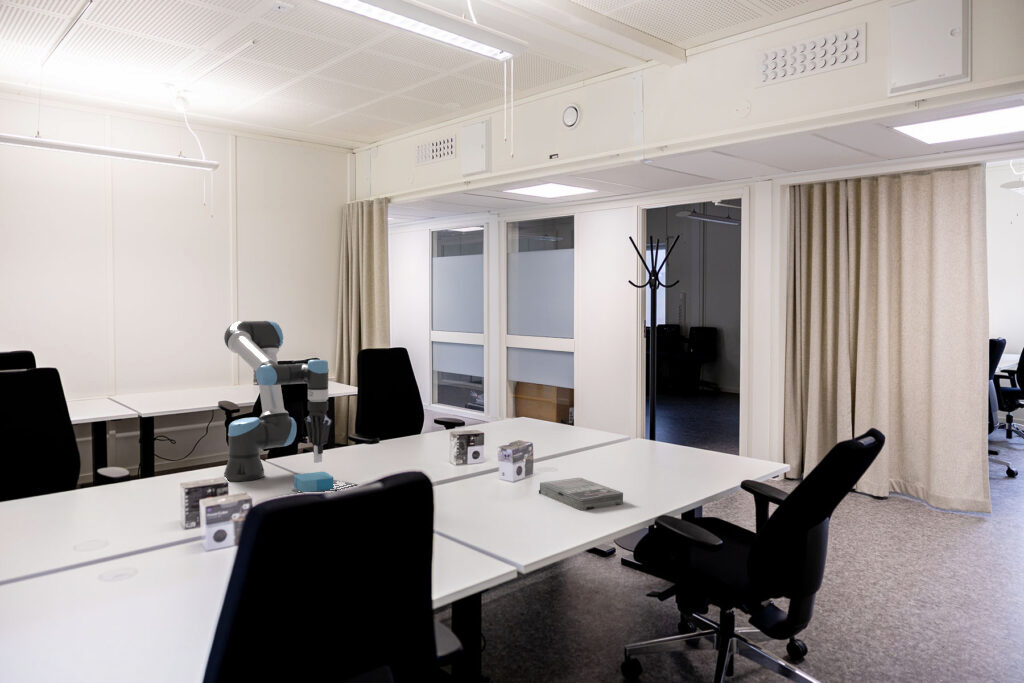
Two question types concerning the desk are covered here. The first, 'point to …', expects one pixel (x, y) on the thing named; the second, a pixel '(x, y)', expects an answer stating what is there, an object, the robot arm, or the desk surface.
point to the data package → (313, 482)
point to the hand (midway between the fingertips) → (318, 462)
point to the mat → (333, 486)
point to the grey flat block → (581, 493)
